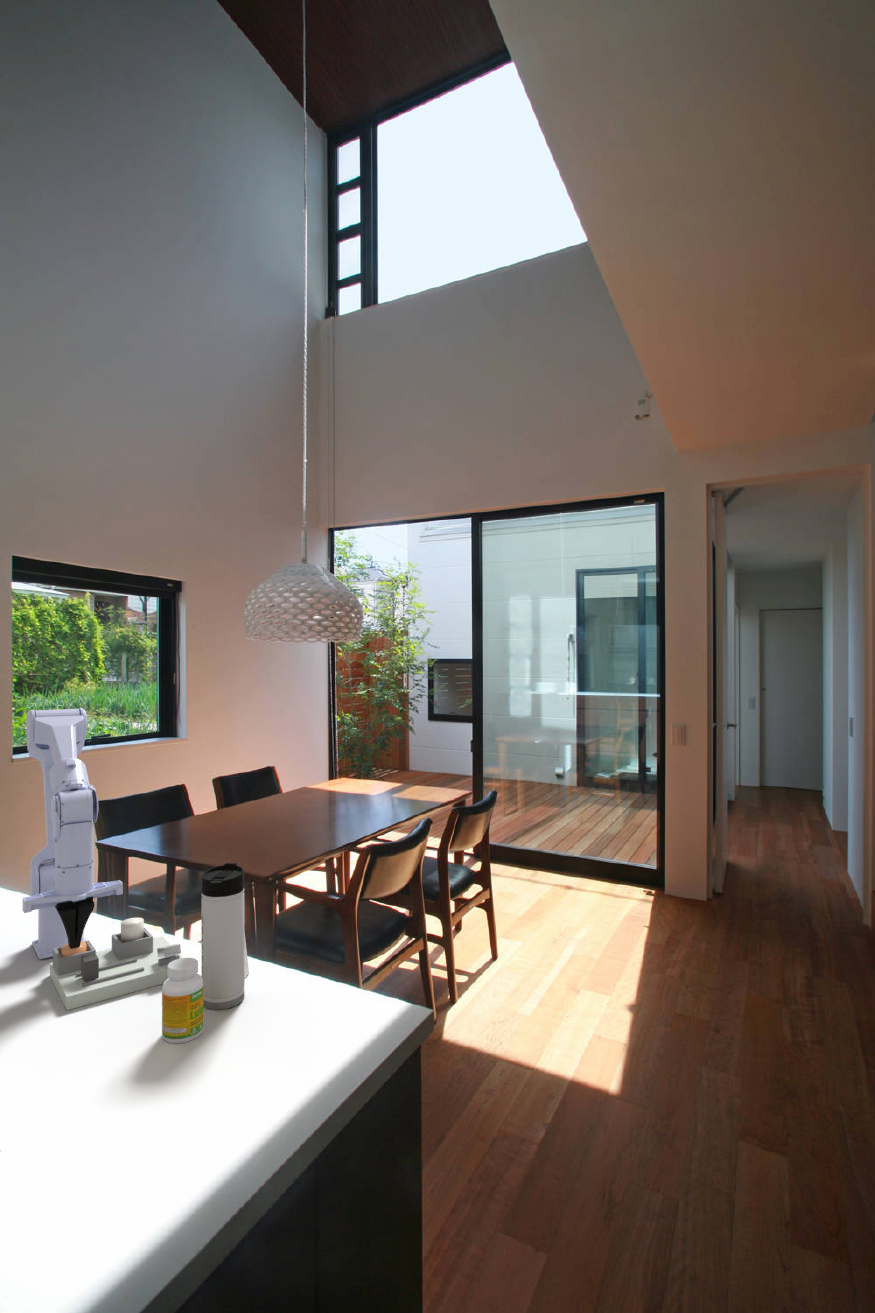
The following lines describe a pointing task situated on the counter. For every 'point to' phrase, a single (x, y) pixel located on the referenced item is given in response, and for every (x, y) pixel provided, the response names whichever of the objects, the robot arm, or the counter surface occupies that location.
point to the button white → (132, 929)
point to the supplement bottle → (182, 1002)
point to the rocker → (169, 950)
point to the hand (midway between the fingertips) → (74, 946)
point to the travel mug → (222, 936)
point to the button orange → (73, 949)
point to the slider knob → (89, 967)
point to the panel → (111, 970)
